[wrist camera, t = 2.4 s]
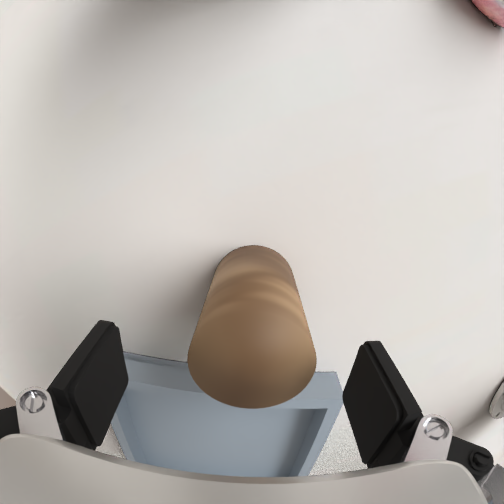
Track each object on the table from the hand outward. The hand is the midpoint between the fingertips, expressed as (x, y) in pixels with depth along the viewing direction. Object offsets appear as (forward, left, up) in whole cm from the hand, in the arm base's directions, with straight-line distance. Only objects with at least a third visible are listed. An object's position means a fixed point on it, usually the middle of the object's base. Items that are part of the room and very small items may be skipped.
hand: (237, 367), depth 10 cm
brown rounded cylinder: (-1, 0, -8) cm, 8 cm away
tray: (+1, +16, -8) cm, 18 cm away
